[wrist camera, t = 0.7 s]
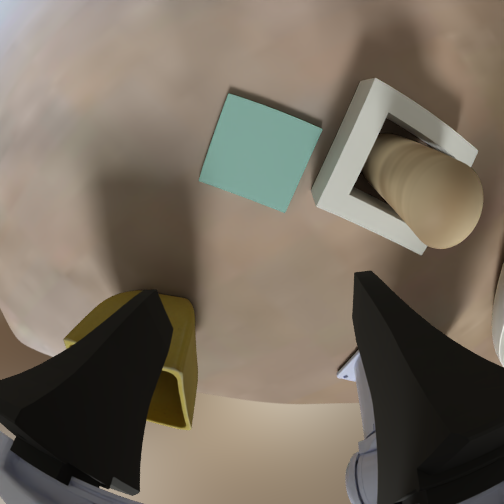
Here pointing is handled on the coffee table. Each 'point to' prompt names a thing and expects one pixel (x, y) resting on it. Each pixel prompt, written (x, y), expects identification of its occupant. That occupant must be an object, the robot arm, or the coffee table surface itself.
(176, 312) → the flower pot
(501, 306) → the bowl
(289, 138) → the pad
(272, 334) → the coffee table surface
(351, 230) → the coffee table surface
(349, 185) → the socket block
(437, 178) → the dowel
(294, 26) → the coffee table surface
